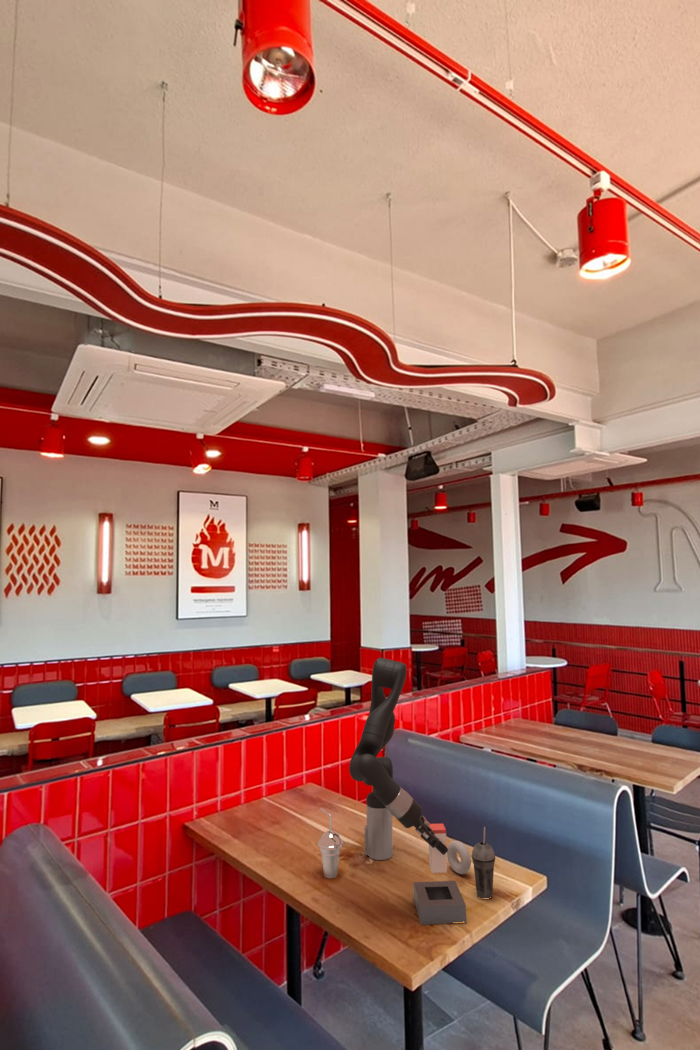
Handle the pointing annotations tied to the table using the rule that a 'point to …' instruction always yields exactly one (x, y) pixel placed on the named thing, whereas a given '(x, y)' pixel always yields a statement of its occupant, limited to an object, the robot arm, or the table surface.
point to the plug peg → (435, 856)
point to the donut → (464, 855)
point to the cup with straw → (330, 850)
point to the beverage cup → (483, 868)
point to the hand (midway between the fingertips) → (443, 847)
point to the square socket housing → (439, 902)
